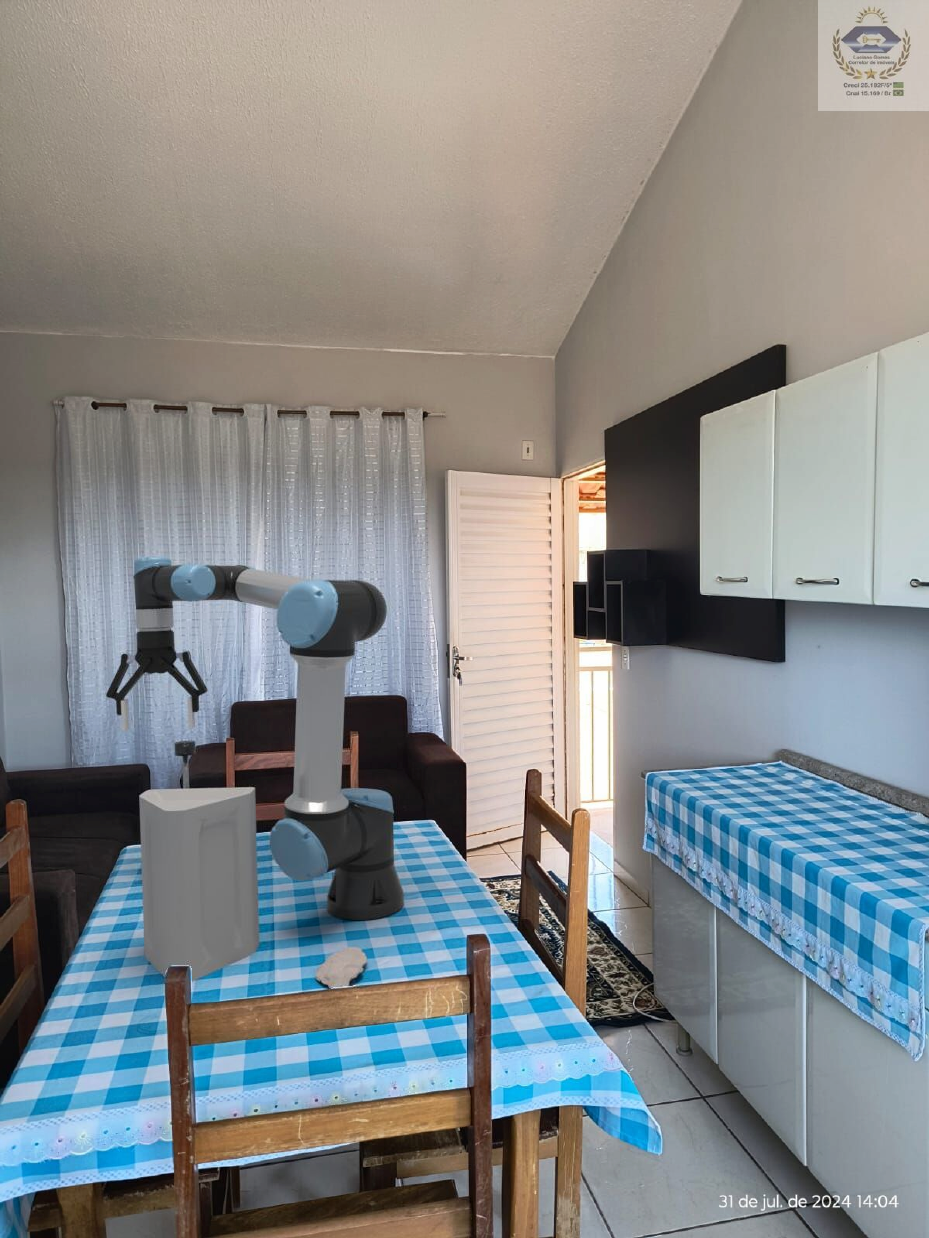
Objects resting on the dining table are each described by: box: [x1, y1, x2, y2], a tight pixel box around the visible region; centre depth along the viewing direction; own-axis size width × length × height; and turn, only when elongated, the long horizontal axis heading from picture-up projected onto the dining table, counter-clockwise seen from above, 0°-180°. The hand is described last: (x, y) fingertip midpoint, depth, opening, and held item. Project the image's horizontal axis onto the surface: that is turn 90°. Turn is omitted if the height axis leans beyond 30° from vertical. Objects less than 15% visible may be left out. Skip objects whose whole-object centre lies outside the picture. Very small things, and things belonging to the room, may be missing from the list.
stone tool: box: [315, 946, 368, 989], centre depth 133 cm, size 8×3×15 cm
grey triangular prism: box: [138, 786, 260, 982], centre depth 138 cm, size 19×15×28 cm
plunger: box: [173, 740, 197, 789], centre depth 182 cm, size 9×9×19 cm
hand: (159, 729), depth 174 cm, fingers open, 13 cm apart
